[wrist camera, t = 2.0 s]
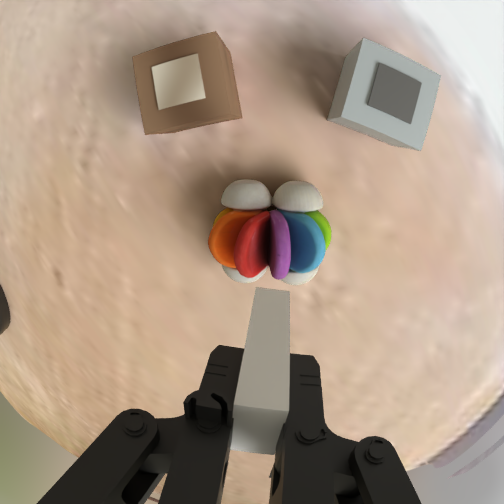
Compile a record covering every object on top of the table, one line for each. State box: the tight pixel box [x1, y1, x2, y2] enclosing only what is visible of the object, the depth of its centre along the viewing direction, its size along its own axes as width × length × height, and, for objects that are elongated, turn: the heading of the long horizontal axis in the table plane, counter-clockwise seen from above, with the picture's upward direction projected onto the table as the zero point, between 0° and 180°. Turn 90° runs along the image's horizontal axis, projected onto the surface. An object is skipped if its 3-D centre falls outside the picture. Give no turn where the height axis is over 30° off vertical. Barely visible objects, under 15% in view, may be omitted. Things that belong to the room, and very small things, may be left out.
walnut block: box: [132, 31, 242, 135], centre depth 19 cm, size 6×6×6 cm
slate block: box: [327, 38, 441, 151], centre depth 18 cm, size 6×6×6 cm
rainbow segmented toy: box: [208, 179, 331, 285], centre depth 23 cm, size 8×10×7 cm
